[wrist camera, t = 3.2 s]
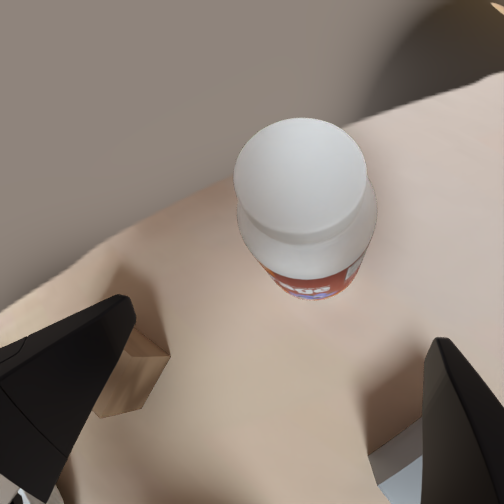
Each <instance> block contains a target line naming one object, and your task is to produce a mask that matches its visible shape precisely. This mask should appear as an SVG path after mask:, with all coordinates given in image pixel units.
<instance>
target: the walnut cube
mask: <svg viewBox="0 0 504 504" xmlns="http://www.w3.org/2000/svg"><path fill="white" fill-rule="evenodd" d="M170 357H171V356H170V355H169V354H167V353H166V352H165V351H163V350H162V349H161V348H159V347H158V346H157V345H156V344H154V343H153V342H152V341H150V340H149V339H148V338H147V337H145V336H144V335H143V334H142V333H140V332H139V331H138V330H137V329H136V328H134V327H133V330H132V332H131V334H130V336H129V339H128V341H127V343H126V345H125V348H124V350H123V352H122V354H121V357H120V359H119V361H118V363H117V365H116V367H115V368H114V370H113V372H112V374H111V376H110V377H109V379H108V381H107V383H106V385H105V387H104V388H103V390H102V392H101V394H100V396H99V398H98V400H97V401H96V403H95V405H94V407H93V409H92V411H93V412H94V413H95V414H96V415H97V416H98V417H99V418H104V417H109V416H113V415H118V414H122V413H126V412H130V411H134V410H138V409H141V408H142V407H143V405H144V403H145V401H146V399H147V398H148V396H149V394H150V392H151V391H152V389H153V387H154V385H155V383H156V382H157V380H158V378H159V376H160V375H161V373H162V371H163V369H164V368H165V366H166V364H167V362H168V361H169V359H170Z"/></svg>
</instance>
